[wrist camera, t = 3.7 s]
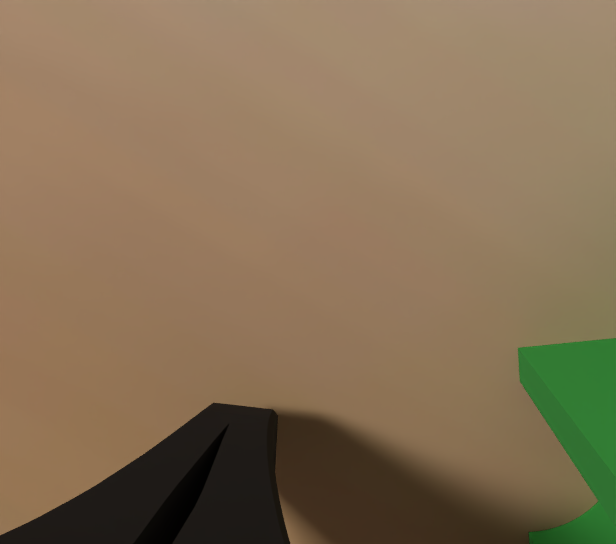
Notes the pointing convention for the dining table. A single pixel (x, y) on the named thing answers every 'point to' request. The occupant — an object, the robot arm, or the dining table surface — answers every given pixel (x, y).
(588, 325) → the dining table surface
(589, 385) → the pipe clamp
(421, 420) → the dining table surface
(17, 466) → the dining table surface
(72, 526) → the robot arm
